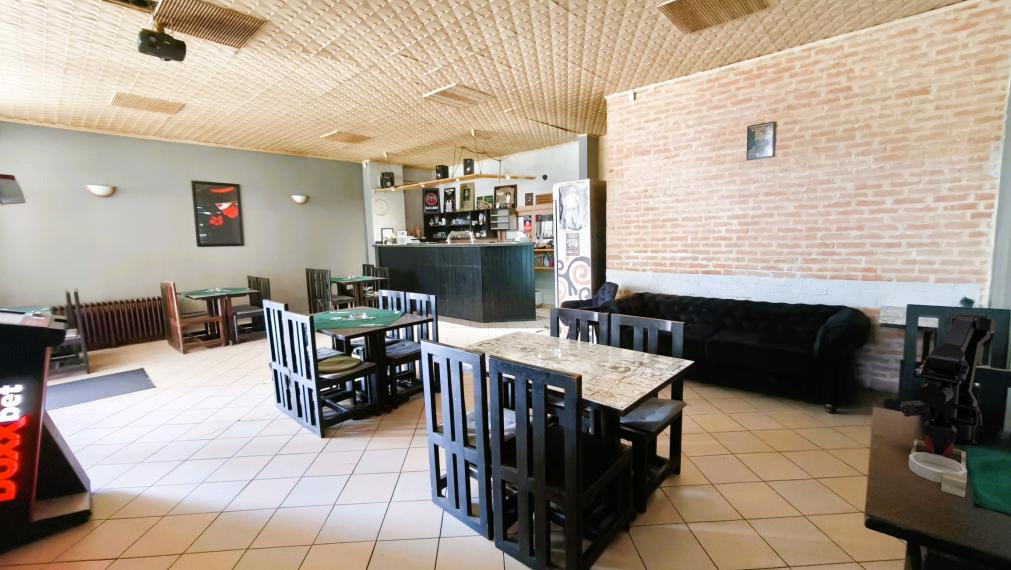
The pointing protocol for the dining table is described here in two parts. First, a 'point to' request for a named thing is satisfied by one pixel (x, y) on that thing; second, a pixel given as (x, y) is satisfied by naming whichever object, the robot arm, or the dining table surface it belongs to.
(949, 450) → the onion
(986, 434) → the dining table surface
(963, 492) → the maple block
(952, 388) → the robot arm
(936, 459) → the bowl
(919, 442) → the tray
